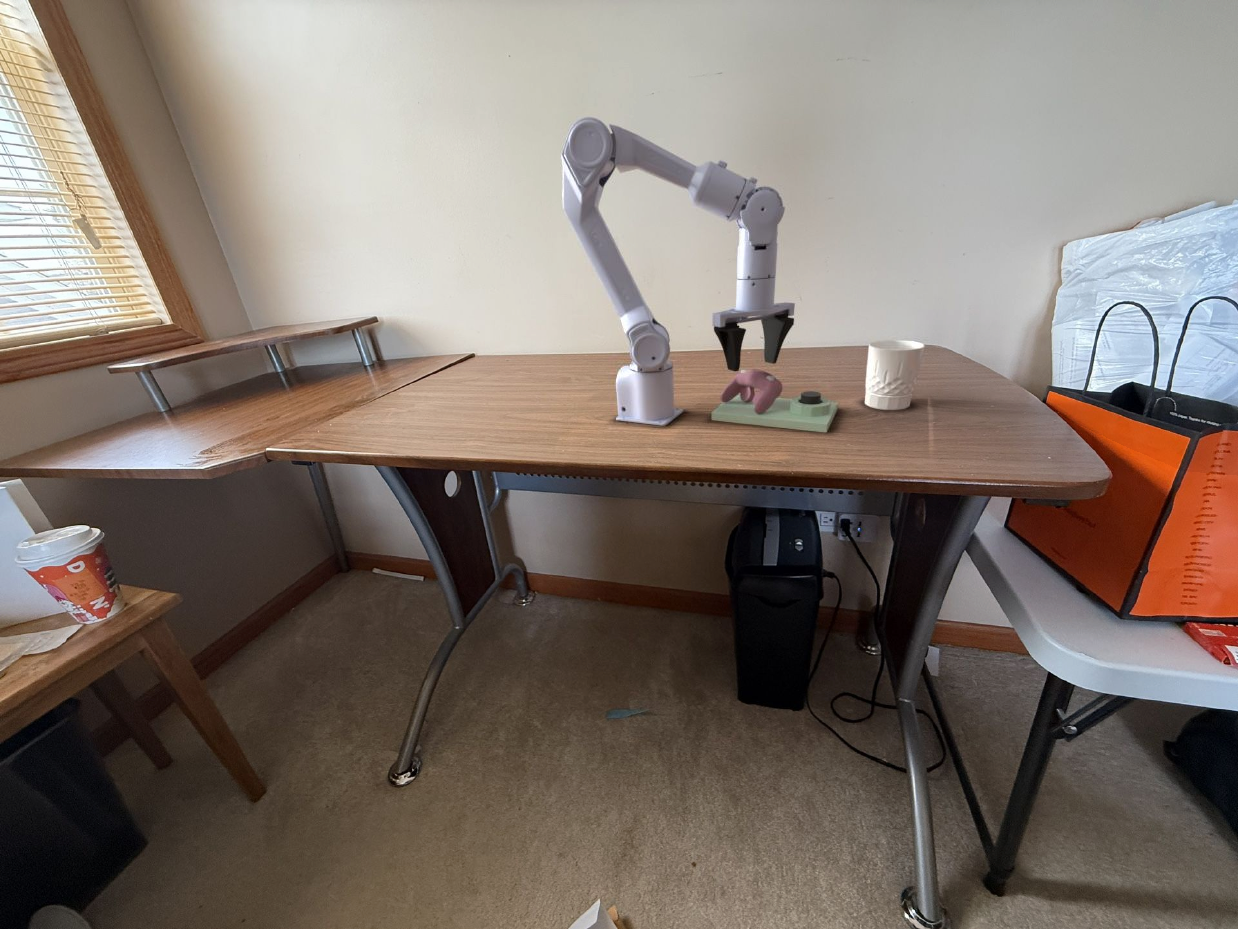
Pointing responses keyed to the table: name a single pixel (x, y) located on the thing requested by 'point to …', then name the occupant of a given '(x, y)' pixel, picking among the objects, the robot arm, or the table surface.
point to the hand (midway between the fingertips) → (752, 366)
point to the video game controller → (746, 385)
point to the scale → (779, 414)
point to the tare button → (810, 398)
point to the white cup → (892, 373)
